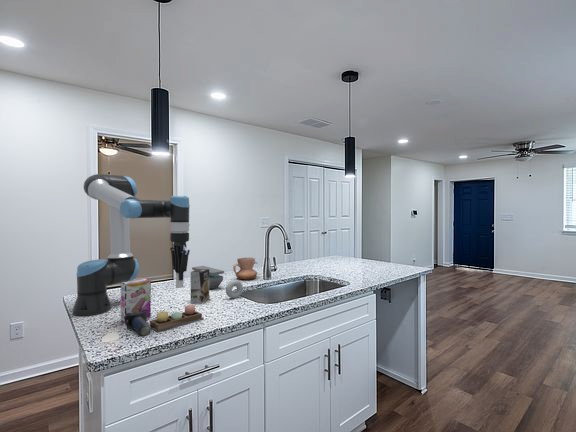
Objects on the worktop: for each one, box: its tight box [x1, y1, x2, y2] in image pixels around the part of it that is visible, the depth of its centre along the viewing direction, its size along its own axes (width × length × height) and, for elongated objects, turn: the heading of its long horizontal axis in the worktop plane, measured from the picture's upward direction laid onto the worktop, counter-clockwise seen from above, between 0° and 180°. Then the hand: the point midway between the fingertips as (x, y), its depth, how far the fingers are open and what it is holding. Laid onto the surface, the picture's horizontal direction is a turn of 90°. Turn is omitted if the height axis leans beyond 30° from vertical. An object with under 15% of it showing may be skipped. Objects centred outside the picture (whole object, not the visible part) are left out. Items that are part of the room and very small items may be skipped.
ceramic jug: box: [232, 256, 259, 281], centre depth 215 cm, size 18×14×14 cm
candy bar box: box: [120, 278, 152, 324], centre depth 135 cm, size 11×5×16 cm, turn 141°
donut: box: [225, 279, 244, 299], centre depth 167 cm, size 10×4×10 cm, turn 130°
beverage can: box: [124, 310, 152, 336], centre depth 122 cm, size 9×8×12 cm
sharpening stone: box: [191, 265, 225, 290], centre depth 193 cm, size 25×8×11 cm, turn 44°
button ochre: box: [156, 311, 169, 321], centre depth 125 cm, size 4×4×3 cm
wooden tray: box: [149, 310, 204, 333], centre depth 130 cm, size 9×20×2 cm, turn 137°
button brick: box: [184, 304, 196, 314], centre depth 134 cm, size 4×4×3 cm
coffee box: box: [190, 269, 210, 305], centre depth 161 cm, size 9×6×16 cm
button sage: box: [170, 311, 183, 320], centre depth 130 cm, size 4×4×3 cm
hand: (179, 287), depth 133 cm, fingers closed
